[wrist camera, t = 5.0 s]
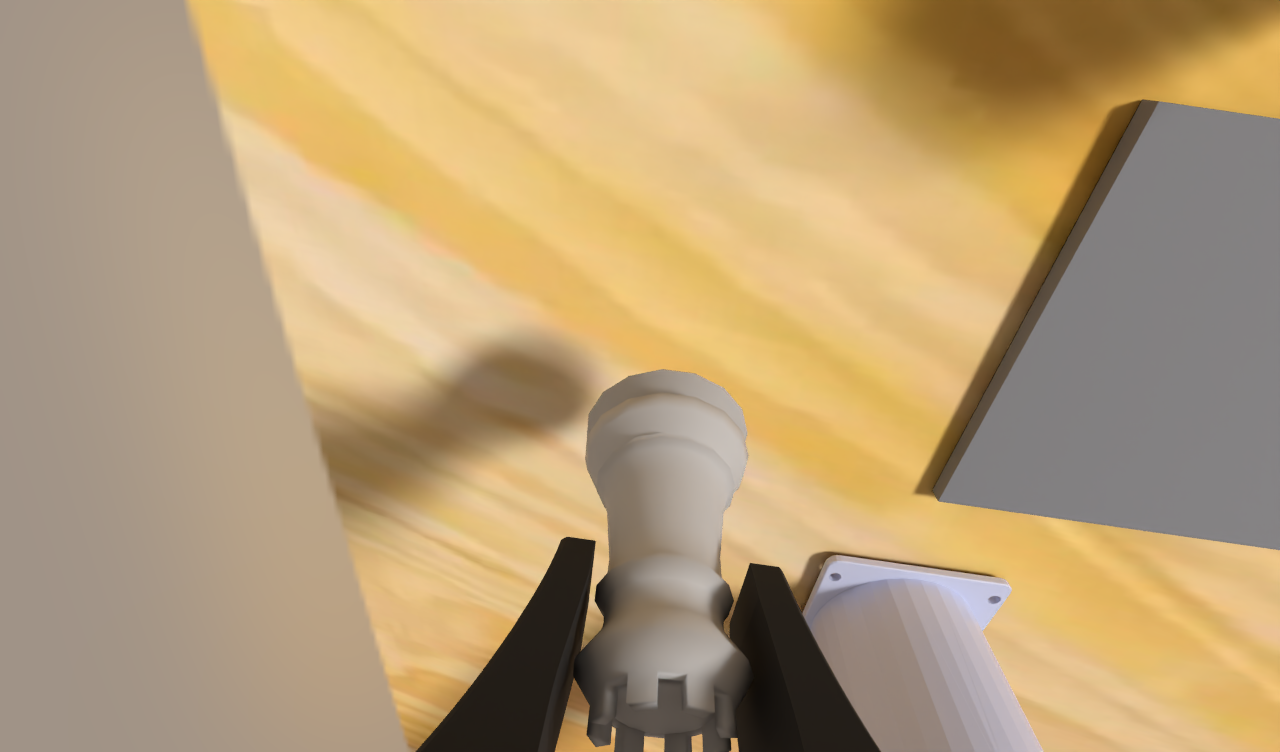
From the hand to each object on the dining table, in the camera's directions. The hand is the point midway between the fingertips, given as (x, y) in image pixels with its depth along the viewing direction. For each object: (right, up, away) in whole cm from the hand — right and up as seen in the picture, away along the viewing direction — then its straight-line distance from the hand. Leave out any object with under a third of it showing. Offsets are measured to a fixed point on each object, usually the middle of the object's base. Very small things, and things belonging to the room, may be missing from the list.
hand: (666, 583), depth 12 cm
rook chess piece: (0, +3, +4) cm, 5 cm away
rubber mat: (+19, +5, +7) cm, 21 cm away
